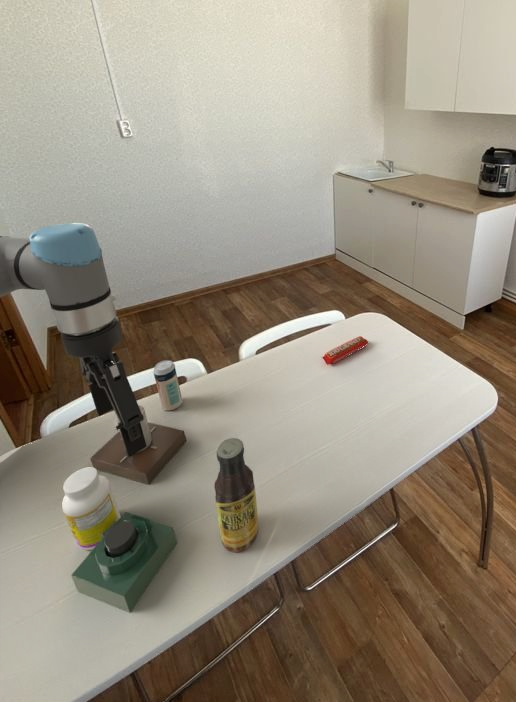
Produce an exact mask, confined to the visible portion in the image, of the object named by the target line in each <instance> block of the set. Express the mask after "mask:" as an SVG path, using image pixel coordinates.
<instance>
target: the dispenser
mask: <svg viewBox="0 0 516 702" xmlns="http://www.w3.org/2000/svg"><path fill="white" fill-rule="evenodd" d="M120 516H121V518H120V519H119V520H118V521H117V522H116V523H115V525H114V526H116V525H117V524H119V523H121V522H126V521H128V522H131V523H132V524H133V525H134V528H135V531H136V534H137V539H136V542H135V544H134V545H133V547H132V548H131V549H130V550H129V551H128V552H126V553H125V554H123V555H121V556H118V557H112V556H110V555H109V554H108V552H107V549H106V546H105V543H104V541H105V537H106V535H107V534H106V535H105V536H104V537H103V538H102V539H101V541H100V542H99V543H98V544H97V546H96V547H95V548H94V549H92V550H90V551H91V552H90V553H89V554H88V555H87V556H85V558H84V560H83V561H82V562H81V563H80V564H79V565H78V567H77V568H76V569H75V570H74V571H73V572H72V573H71V575H70V576H71V579H72V582H73V583H74V586H75V588H76V590H77V592H78V593H80V594H82V595H85V596H86V597H89V598H92V599H94V600H97V601H99V602H102V603H104V604H107V605H109V606H112V607H115V608H117V609H119V610H122V611H125V612H127V613H131V612H132V611H133V609H134V608H135V606H136V605H137V603H138V602H139V601H140V599H141V597H142V596H143V595H144V593H145V592H146V590H147V589H148V588H149V586H150V584H151V583H152V581H153V580H154V579H155V577H156V576H157V574H158V573H159V571H160V570H161V568H162V567H163V565H164V563H165V562H166V561H167V559H168V558H169V557H170V555H171V553H172V552H173V550H174V549H175V547H176V546H177V545H178V540H177V539H178V538H177V536H176V532H175V527H174V526H171V525H168V524H165V523H162V522H159V521H155V520H152V519H149V518H146V517H143V516H140V515H137V514H133V513H131V512H128V511H127V512H126V511H125V512H124V513H122V515H120ZM114 526H113V527H114ZM113 527H112V528H113ZM112 528H111V529H112ZM111 529H110V530H111ZM110 530H109V531H110ZM109 531H108V532H109ZM108 532H107V533H108Z"/></svg>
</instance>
